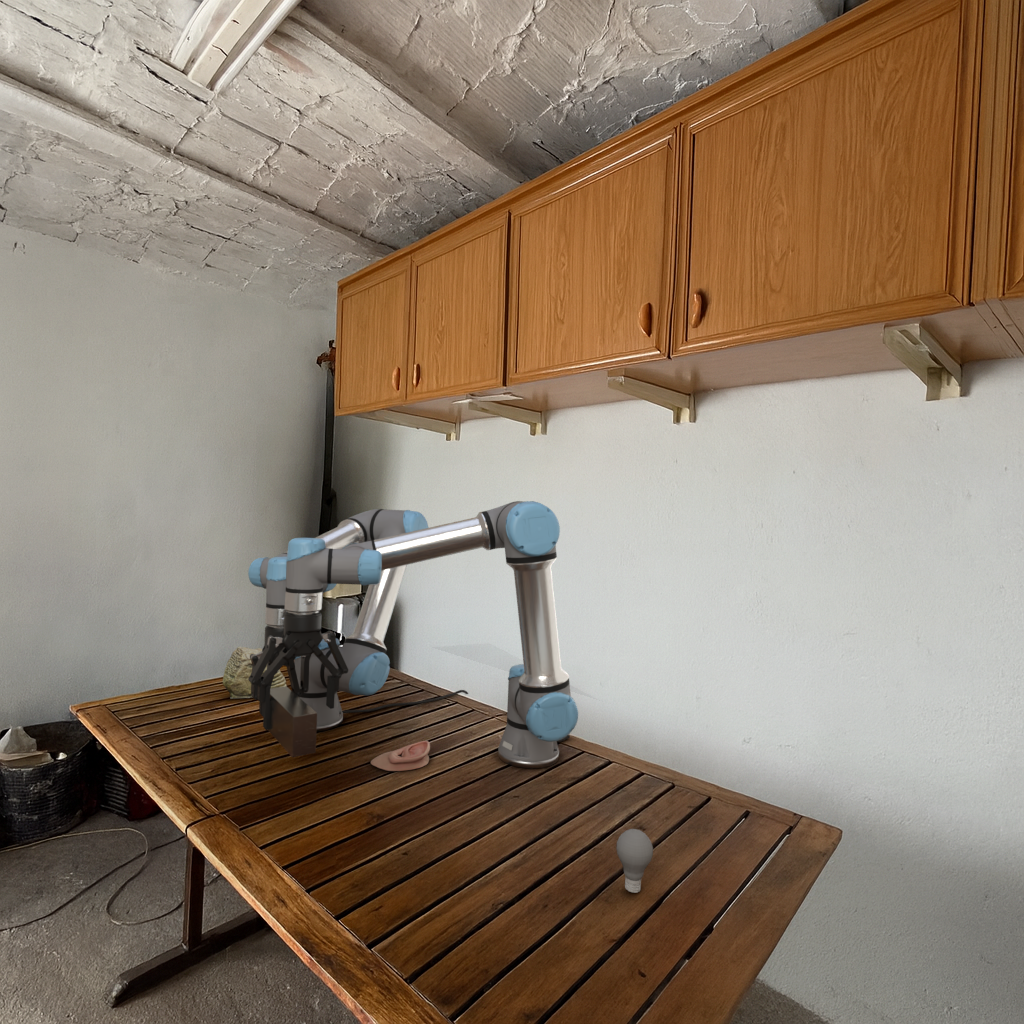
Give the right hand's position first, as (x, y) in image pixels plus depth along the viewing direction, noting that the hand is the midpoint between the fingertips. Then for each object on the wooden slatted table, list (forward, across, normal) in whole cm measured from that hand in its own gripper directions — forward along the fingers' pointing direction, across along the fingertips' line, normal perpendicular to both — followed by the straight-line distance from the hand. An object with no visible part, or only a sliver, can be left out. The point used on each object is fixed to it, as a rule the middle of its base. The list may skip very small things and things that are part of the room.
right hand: (298, 711), depth 134 cm
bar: (+8, 0, +7) cm, 11 cm away
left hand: (+8, 0, +14) cm, 16 cm away
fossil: (+18, +10, +72) cm, 75 cm away
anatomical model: (+18, +26, +4) cm, 32 cm away
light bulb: (+17, +37, -62) cm, 74 cm away
